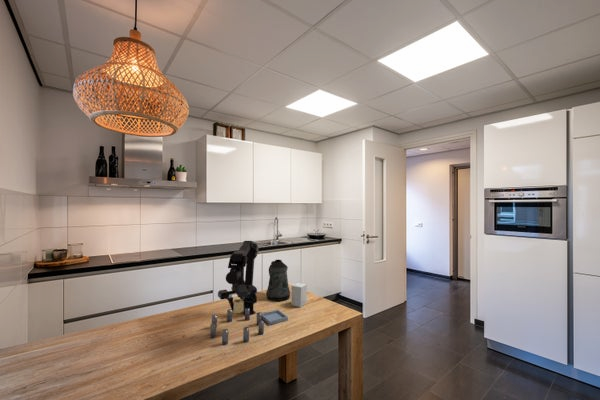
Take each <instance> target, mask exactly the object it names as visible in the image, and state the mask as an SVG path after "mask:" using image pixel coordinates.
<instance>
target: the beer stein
mask: <svg viewBox="0 0 600 400" xmlns="http://www.w3.org/2000/svg"><path fill="white" fill-rule="evenodd" d="M288 268H289V267H288V266H287V264H286V263H284V262H283V261H282V259H275V260H273V261H271V262H270V265H269V267H268V276H269V281H268V286H267V289H266V293H265V295H266V299H267V301H270V302H275V303H276V302H278V303H280V302H286V301H289V300H290V299H291V297H290V296H291V290H290V286H289V279H288Z"/></svg>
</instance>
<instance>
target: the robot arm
mask: <svg viewBox="0 0 600 400" xmlns="http://www.w3.org/2000/svg"><path fill="white" fill-rule="evenodd" d="M259 250H260V248H259V246H258V244H257V243H255V242H254V241H253V240H244V241H243V243H242V245H241V246H240V248H239V249H237V250H236V251H234V252H233V253H231V255H230V258H229V260H228V265H227V268H228V269H229V272H227V274H226V275H225V280H226V282H227V283H228V284H230V285H231V289H230V290H229V291H228V290H227V289H220V290H219V291H218V292H217V297H218V298H219V299H220V300H227V301H228V303H229V306H230V309H232V310H233V300H234V297H233V296H234V295H237V298H238V299H242V300H243V301H244V311H242V312H241V313H242V314H243V315H244V316H245V308H250V315H253V314H257V312H256V311H255V310H254V306H255V305H254V304H256V303H258V298H257V297H258V296H257V293H258V288H257V287H256V286H255V285H253V284H254V283H253V282H254V272H255V271H254V270H255V269H254V267H255V259H256V258H257V256H258V253H259Z"/></svg>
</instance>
